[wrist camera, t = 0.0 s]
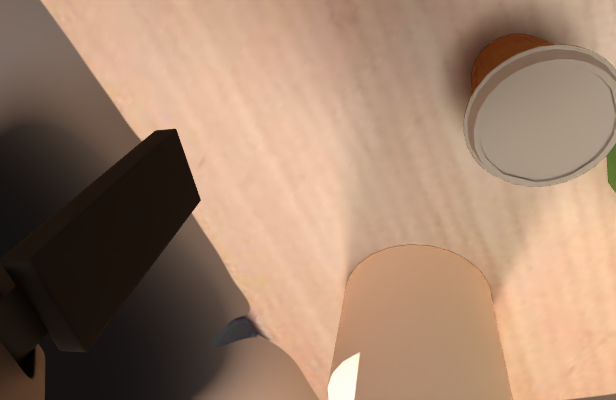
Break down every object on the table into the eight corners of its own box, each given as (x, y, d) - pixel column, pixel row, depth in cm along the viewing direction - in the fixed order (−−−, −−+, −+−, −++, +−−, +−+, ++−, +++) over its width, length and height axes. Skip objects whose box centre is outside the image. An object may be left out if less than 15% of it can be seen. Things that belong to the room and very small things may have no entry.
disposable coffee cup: (428, 75, 39) (434, 129, 29) (524, -15, 34) (570, 13, 24) (499, 144, 41) (527, 217, 31) (599, 69, 36) (670, 127, 26)
